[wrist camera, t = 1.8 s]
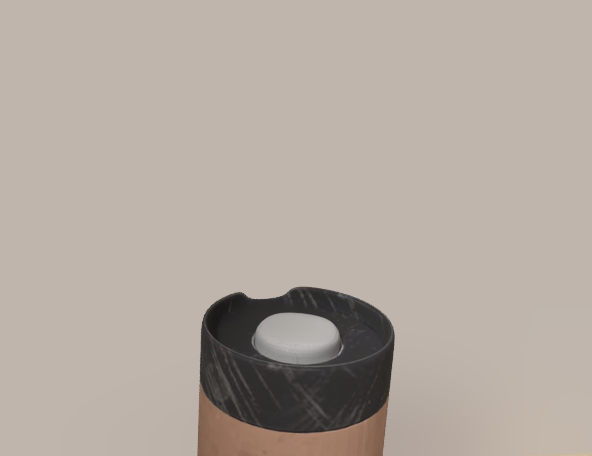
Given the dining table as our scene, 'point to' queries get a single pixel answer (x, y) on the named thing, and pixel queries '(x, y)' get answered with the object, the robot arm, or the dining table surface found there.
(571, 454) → the dining table surface
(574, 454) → the dining table surface
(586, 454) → the dining table surface
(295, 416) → the travel mug
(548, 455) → the dining table surface
